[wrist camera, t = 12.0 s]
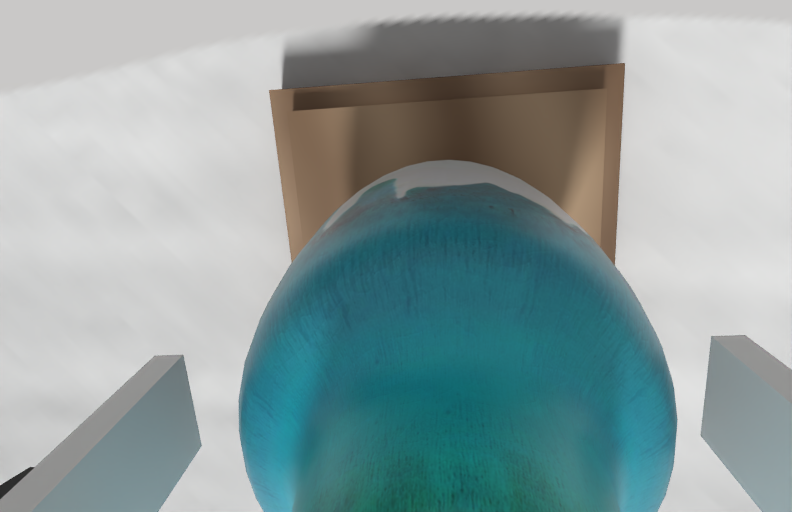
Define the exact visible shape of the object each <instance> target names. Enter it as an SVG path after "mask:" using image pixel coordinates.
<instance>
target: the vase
mask: <svg viewBox="0 0 792 512" xmlns="http://www.w3.org/2000/svg"><path fill="white" fill-rule="evenodd" d="M676 431H677V413H676V403H675V394H674V387H673V382H672V378H671V375H670V371H669V368H668V365H667V362H666V358H665V355H664V352H663V349H662V346H661V344H660V342H659V339H658V337H657V335H656V333H655V331H654V329H653V327H652V325H651V323H650V321H649V319H648V317H647V316H646V314H645V312H644V310H643V308H642V306H641V304H640V302H639V301H638V299H637V297H636V295H635V294H634V292H633V290H632V288H631V287H630V286H629V284H628V283H627V281H626V280H625V279H624V277H623V276H622V274H621V273H620V272H619V270H618V269H617V268H616V267H615V265H614V264H613V263H612V262H611V260H610V259H609V258H608V256H607V255H606V254H605V253H604V251H603V250H602V249H601V248H600V246H599V245H598V244H597V243H596V242H595V241H594V240H593V238H592V237H591V236H590V235H589V234H588V233H587V232H586V231H585V230H584V229H583V228H582V227H581V226H580V225H579V224H578V223H577V222H576V221H574V220H573V219H572V218H571V217H570V216H569V215H568V214H567V213H566V212H565V211H563V210H562V209H561V208H560V207H559V206H558V205H557V204H556V203H555V202H553V201H552V200H551V199H550V198H549V197H547V196H546V195H544V194H543V193H542V192H540V191H538V190H537V189H535V188H534V187H532V186H531V185H529V184H528V183H526V182H524V181H523V180H521V179H519V178H517V177H515V176H513V175H510V174H508V173H506V172H503V171H501V170H499V169H496V168H494V167H490V166H486V165H482V164H478V163H474V162H470V161H458V160H438V161H427V162H422V163H418V164H414V165H409V166H406V167H404V168H401V169H399V170H396V171H394V172H391V173H389V174H386V175H384V176H382V177H381V178H379V179H377V180H376V181H374V182H372V183H371V184H369V185H367V186H366V187H364V188H363V189H361V190H359V191H358V192H357V193H356V194H355V195H353V196H352V197H351V198H350V199H349V200H348V201H346V202H345V203H344V204H343V205H342V206H341V207H339V208H338V209H337V210H336V211H335V212H334V213H333V214H332V215H331V216H330V217H329V218H328V219H327V220H326V221H325V223H324V224H323V225H322V226H321V227H320V229H319V230H318V231H317V232H316V233H315V235H314V236H313V237H312V238H311V239H310V241H309V242H308V243H307V244H306V245H305V247H304V248H303V249H302V250H301V251H300V253H299V254H298V255H297V257H296V258H295V259H294V261H293V262H292V264H291V265H290V266H289V268H288V270H287V271H286V273H285V275H284V276H283V278H282V280H281V282H280V283H279V285H278V287H277V289H276V290H275V292H274V294H273V295H272V297H271V299H270V301H269V302H268V304H267V306H266V308H265V310H264V313H263V315H262V317H261V319H260V321H259V324H258V327H257V330H256V332H255V335H254V338H253V341H252V343H251V346H250V349H249V352H248V355H247V357H246V360H245V365H244V371H243V377H242V383H241V388H240V395H239V433H240V440H241V446H242V451H243V456H244V462H245V467H246V472H247V475H248V478H249V480H250V483H251V486H252V488H253V491H254V494H255V496H256V499H257V501H258V502H259V504H260V506H261V508H262V509H263V511H264V512H657V511H658V509H659V507H660V505H661V503H662V501H663V499H664V497H665V495H666V491H667V487H668V484H669V480H670V477H671V473H672V470H673V464H674V455H675V443H676Z"/></svg>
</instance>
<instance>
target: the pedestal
mask: <svg viewBox="0 0 792 512" xmlns="http://www.w3.org/2000/svg"><path fill="white" fill-rule="evenodd" d="M624 73H625V63H620V64H607V65H594V66H581V67H568V68H554V69H541V70H528V71H515V72H502V73H489V74H476V75H463V76H450V77H437V78H423V79H410V80H397V81H384V82H371V83H358V84H345V85H332V86H319V87H305V88H292V89H279V90H269V93H270V100H271V108H272V116H273V123H274V131H275V138H276V146H277V154H278V161H279V169H280V176H281V184H282V192H283V199H284V207H285V214H286V222H287V230H288V237H289V245H290V252H291V260H292V262H293V261H294V259H295V258H296V257H297V255H298V254H299V253H300V251H301V250H302V249H303V248H304V247H305V245H306V244H307V243H308V242H309V241H310V239H311V238H312V237H313V236H314V235H315V233H316V232H317V231H318V230H319V229H320V227H321V226H322V225H323V224H324V223H325V221H326V220H327V219H328V218H329V217H330V216H331V215H332V214H333V213H334V212H335V211H336V210H337V209H338V208H339V207H341V206H342V205H343V204H344V203H345V202H346V201H348V200H349V199H350V198H351V197H352V196H353V195H355V194H356V193H357V192H358V191H359V190H361V189H363V188H364V187H366V186H367V185H369V184H371V183H372V182H374V181H376V180H377V179H379V178H381V177H382V176H384V175H386V174H389V173H391V172H394V171H396V170H399V169H401V168H404V167H406V166H409V165H414V164H418V163H422V162H427V161H438V160H458V161H470V162H474V163H478V164H482V165H486V166H490V167H494V168H496V169H499V170H501V171H503V172H506V173H508V174H510V175H513V176H515V177H517V178H519V179H521V180H523V181H524V182H526V183H528V184H529V185H531V186H532V187H534V188H535V189H537V190H538V191H540V192H542V193H543V194H544V195H546V196H547V197H549V198H550V199H551V200H552V201H553V202H555V203H556V204H557V205H558V206H559V207H560V208H561V209H562V210H563V211H565V212H566V213H567V214H568V215H569V216H570V217H571V218H572V219H573V220H574V221H576V222H577V223H578V224H579V225H580V226H581V227H582V228H583V229H584V230H585V231H586V232H587V233H588V234H589V235H590V236H591V237H592V238H593V240H594V241H595V242H596V243H597V244H598V245H599V246H600V248H601V249H602V250H603V251H604V253H605V254H606V255H607V256H608V258H609V259H610V260H611V262H612V263H613V264H614V265H615V249H616V229H617V210H618V190H619V170H620V151H621V131H622V112H623V92H624Z"/></svg>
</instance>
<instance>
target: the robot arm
mask: <svg viewBox="0 0 792 512" xmlns="http://www.w3.org/2000/svg"><path fill="white" fill-rule="evenodd" d="M701 437H702V438H703V439H704V440H705V442H706V443H707V444H708V445H709V446H710V448H711V449H712V450H713V451H714V453H715V454H716V455H717V456H718V458H719V459H720V460H721V461H722V463H723V464H724V465H725V466H726V468H727V469H728V470H729V471H730V473H731V474H732V475H733V476H734V478H735V479H736V480H737V481H738V482H739V484H740V485H741V486H742V487H743V489H744V490H745V491H746V492H747V494H748V495H749V496H750V497H751V499H752V500H753V501H754V502H755V504H756V505H757V506H758V507H759V509H760V510H761V511H762V512H792V370H791V369H790V368H788V367H787V366H786V365H784V364H783V363H782V362H780V361H779V360H778V359H776V358H775V357H774V356H772V355H771V354H770V353H768V352H767V351H766V350H764V349H763V348H762V347H760V346H759V345H758V344H756V343H755V342H754V341H752V340H751V339H750V338H748V337H747V336H746V335H735V336H711V345H710V355H709V364H708V373H707V382H706V391H705V400H704V409H703V419H702V428H701ZM201 446H202V445H201V440H200V435H199V430H198V425H197V421H196V416H195V411H194V406H193V401H192V396H191V391H190V386H189V381H188V376H187V371H186V366H185V361H184V356H183V355H162V356H154V357H153V358H152V359H151V360H150V361H149V362H148V363H147V364H145V365H144V366H143V367H142V368H141V369H140V370H139V371H138V372H137V373H136V374H135V375H134V376H133V377H131V378H130V379H129V380H128V381H127V382H126V383H125V384H124V385H123V386H122V387H121V388H120V389H119V390H117V391H116V392H115V393H114V394H113V395H112V396H111V397H110V398H109V399H108V400H107V401H106V402H105V403H103V404H102V405H101V406H100V407H99V408H98V409H97V410H96V411H95V412H94V413H93V414H92V415H91V416H89V417H88V418H87V419H86V420H85V421H84V422H83V423H82V424H81V425H80V426H79V427H78V428H77V429H75V430H74V431H73V432H72V433H71V434H70V435H69V436H68V437H67V438H66V439H65V440H64V441H63V442H62V443H60V444H59V445H58V446H57V447H56V448H55V449H54V450H53V451H52V452H51V453H50V454H49V455H48V456H46V457H45V458H44V459H43V460H42V461H41V462H40V463H39V464H38V465H37V466H36V467H30V468H28V469H26V470H25V471H23V472H21V473H20V474H18V475H16V476H15V477H13V478H12V479H10V480H8V481H7V482H5V483H3V484H2V485H0V512H158V511H159V509H160V508H161V506H162V505H163V503H164V502H165V500H166V499H167V497H168V496H169V494H170V493H171V491H172V490H173V488H174V487H175V485H176V484H177V482H178V481H179V479H180V478H181V476H182V475H183V473H184V472H185V470H186V469H187V467H188V466H189V464H190V463H191V461H192V460H193V458H194V457H195V455H196V453H197V452H198V450H199V449H200V447H201Z"/></svg>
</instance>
